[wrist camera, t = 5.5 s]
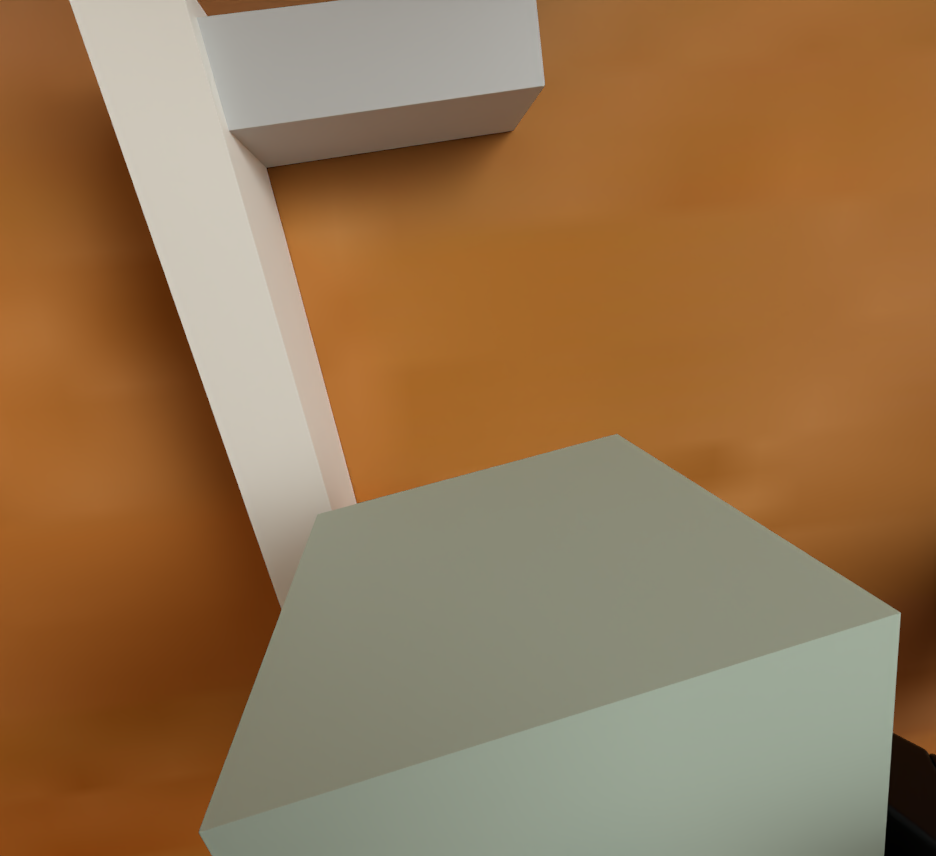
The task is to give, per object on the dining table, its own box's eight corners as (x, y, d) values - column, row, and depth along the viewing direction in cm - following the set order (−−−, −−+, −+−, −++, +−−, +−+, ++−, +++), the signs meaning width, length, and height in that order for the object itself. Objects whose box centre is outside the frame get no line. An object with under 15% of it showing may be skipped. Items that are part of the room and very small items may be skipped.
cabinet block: (617, 434, 8) (1033, 695, 3) (659, 752, 11) (933, 1230, 5) (316, 514, 8) (137, 996, 2) (430, 826, 10) (466, 1429, 5)
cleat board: (500, 26, 13) (537, -70, 9) (599, 818, 22) (636, 912, 18) (156, 70, 12) (63, -18, 8) (409, 874, 21) (412, 984, 18)
